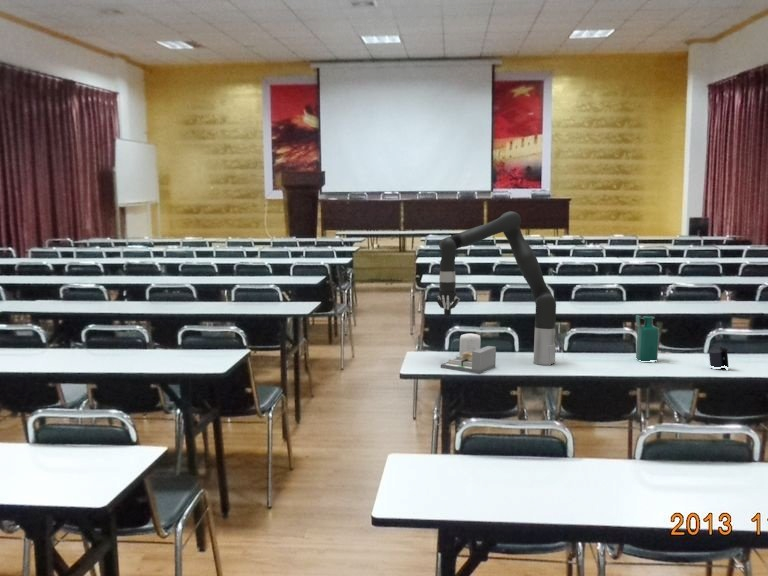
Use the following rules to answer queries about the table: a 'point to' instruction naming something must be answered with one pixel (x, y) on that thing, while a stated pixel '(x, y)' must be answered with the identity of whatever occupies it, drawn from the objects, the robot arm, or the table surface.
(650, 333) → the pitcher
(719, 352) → the speaker
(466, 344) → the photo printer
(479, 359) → the base
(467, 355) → the gauge carriage
